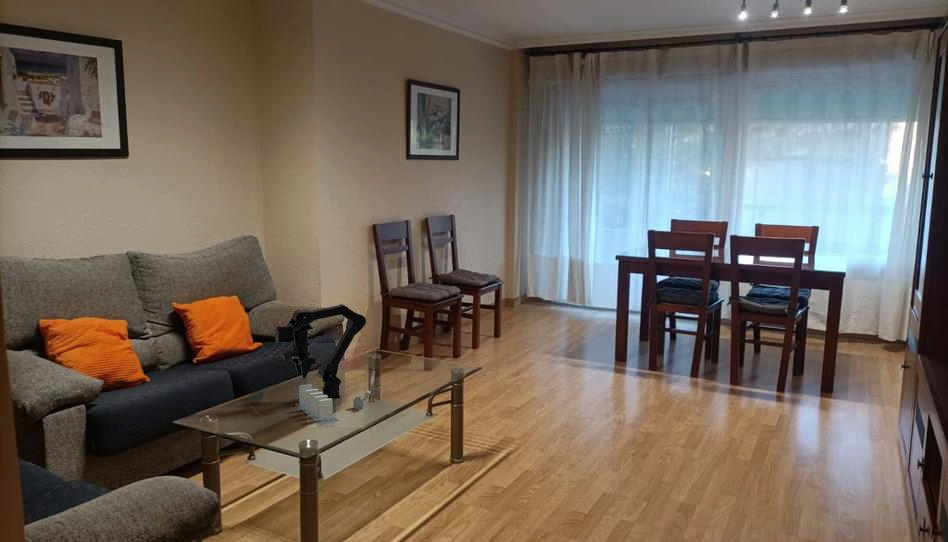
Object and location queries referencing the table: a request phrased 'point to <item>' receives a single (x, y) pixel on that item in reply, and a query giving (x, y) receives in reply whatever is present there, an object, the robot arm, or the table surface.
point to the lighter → (360, 401)
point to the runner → (303, 407)
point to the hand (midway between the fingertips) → (301, 376)
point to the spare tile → (303, 393)
